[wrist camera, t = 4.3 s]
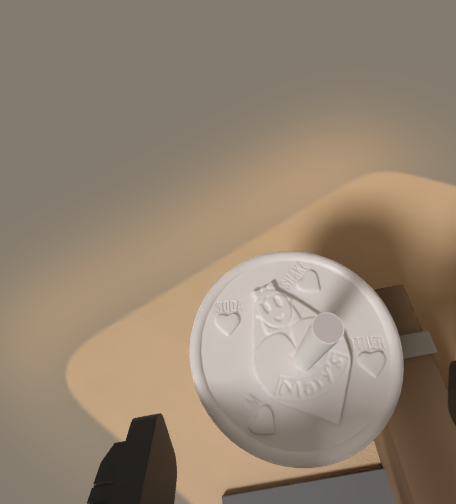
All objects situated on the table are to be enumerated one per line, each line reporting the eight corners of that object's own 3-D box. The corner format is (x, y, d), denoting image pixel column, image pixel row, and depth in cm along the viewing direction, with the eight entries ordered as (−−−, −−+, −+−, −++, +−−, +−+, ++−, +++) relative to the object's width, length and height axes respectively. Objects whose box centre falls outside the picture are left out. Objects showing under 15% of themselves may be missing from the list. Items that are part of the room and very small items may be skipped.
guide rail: (385, 301, 20) (407, 281, 17) (539, 698, 13) (627, 791, 10) (332, 311, 20) (344, 293, 17) (456, 712, 13) (516, 807, 10)
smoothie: (254, 465, 17) (226, 621, 4) (204, 349, 20) (98, 237, 7) (362, 405, 18) (612, 388, 5) (299, 301, 20) (357, 121, 8)
